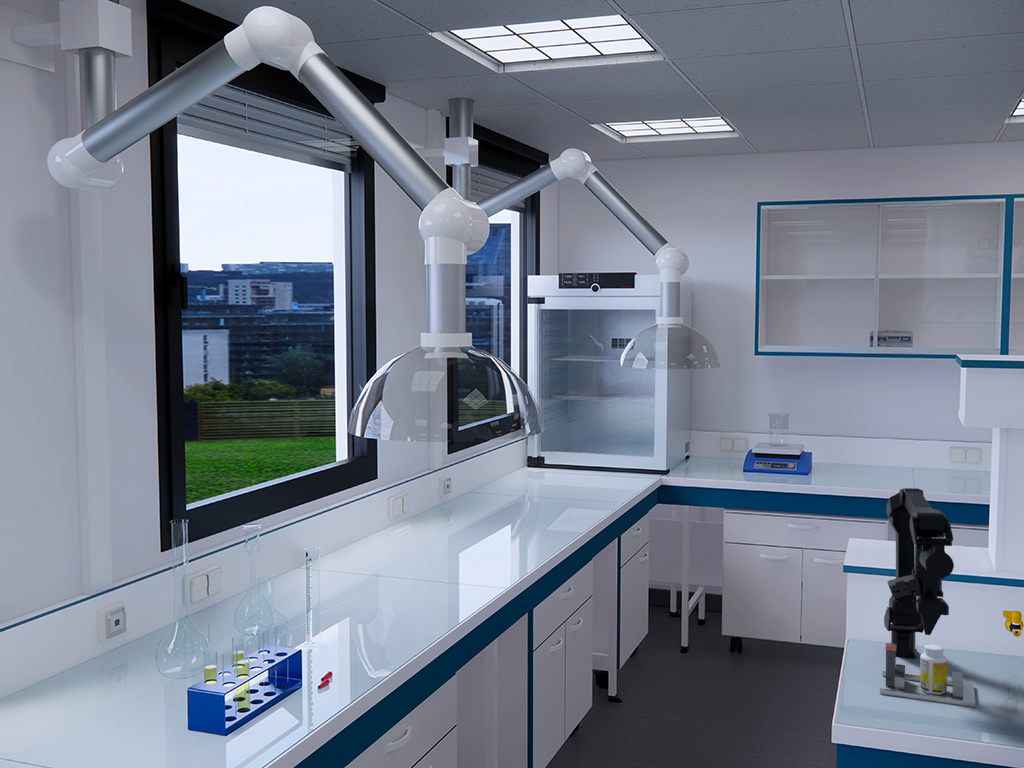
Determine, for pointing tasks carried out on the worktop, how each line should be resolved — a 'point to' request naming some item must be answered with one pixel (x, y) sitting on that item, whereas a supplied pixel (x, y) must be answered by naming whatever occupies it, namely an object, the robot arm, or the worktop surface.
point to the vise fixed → (960, 691)
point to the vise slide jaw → (894, 669)
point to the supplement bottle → (933, 670)
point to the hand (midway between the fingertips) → (927, 634)
